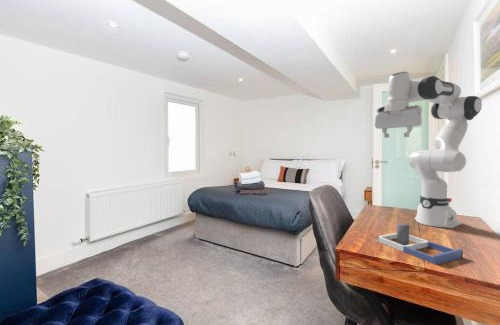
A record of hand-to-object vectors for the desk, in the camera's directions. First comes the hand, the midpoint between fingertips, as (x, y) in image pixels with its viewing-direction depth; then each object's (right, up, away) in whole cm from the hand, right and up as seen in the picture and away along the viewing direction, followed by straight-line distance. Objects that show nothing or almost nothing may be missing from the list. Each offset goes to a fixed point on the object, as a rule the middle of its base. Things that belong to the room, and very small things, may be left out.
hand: (396, 137), depth 119 cm
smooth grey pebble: (-5, -46, -14) cm, 48 cm away
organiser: (-3, -46, -19) cm, 50 cm away
